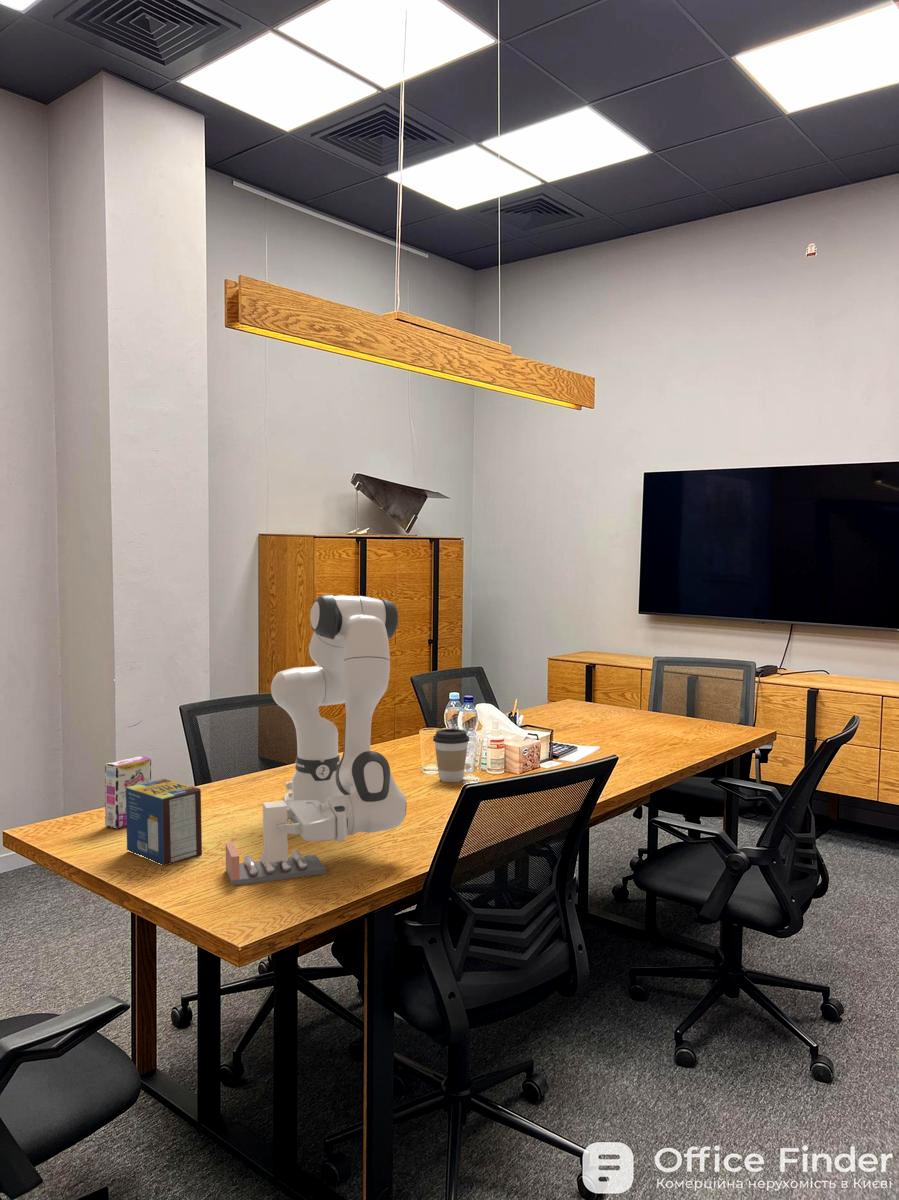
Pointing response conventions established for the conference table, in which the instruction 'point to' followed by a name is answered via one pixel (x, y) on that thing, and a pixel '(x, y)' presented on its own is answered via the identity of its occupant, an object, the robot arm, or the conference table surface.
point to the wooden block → (274, 832)
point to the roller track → (279, 871)
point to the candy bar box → (123, 786)
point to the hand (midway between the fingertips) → (273, 822)
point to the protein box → (164, 821)
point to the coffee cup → (451, 753)
